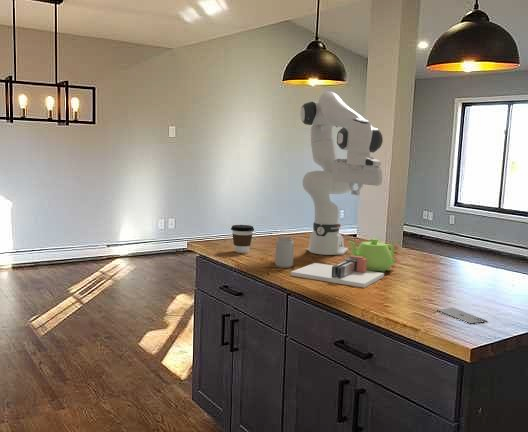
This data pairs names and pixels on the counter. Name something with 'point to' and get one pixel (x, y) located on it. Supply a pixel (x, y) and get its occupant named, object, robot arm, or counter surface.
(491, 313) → the counter surface
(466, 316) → the smartphone
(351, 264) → the tongs fixed
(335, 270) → the tongs arm
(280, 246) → the can
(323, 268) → the board
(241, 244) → the coffee cup
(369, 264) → the teapot
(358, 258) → the lock tab
